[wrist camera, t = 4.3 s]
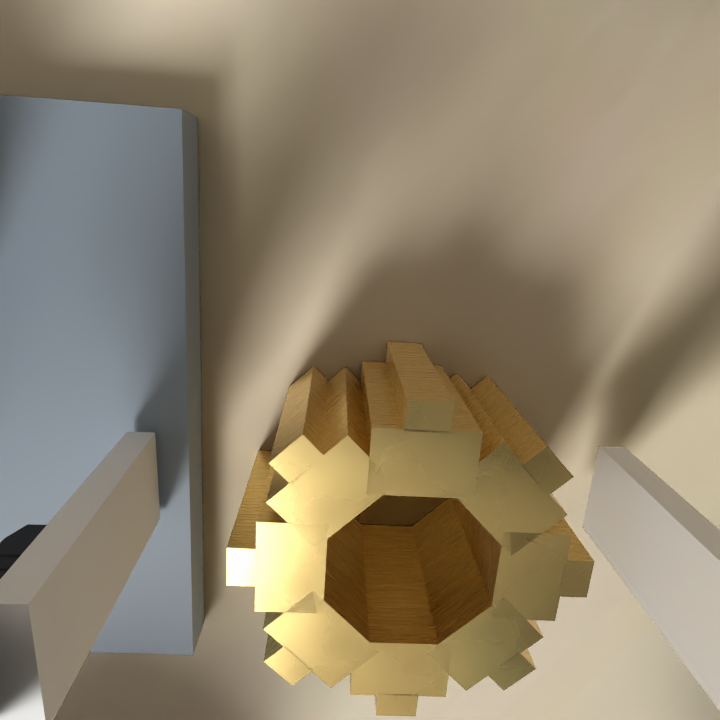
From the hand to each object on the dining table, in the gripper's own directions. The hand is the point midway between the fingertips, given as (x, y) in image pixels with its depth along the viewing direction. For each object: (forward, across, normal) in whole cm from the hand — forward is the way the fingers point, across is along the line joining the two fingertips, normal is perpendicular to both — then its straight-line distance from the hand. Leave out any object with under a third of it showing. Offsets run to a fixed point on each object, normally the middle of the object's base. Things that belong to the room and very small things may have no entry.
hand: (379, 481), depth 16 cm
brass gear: (+2, -1, 0) cm, 2 cm away
